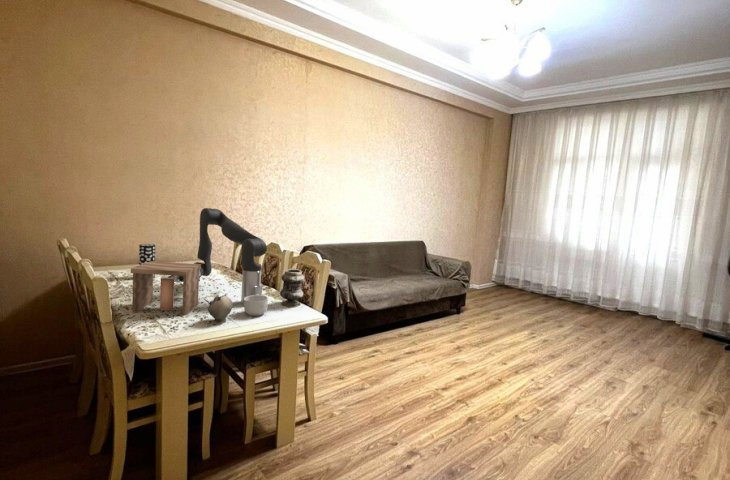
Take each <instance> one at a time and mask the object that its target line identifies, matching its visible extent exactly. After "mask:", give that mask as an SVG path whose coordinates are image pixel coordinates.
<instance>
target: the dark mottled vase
mask: <svg viewBox="0 0 730 480" xmlns="http://www.w3.org/2000/svg"><path fill="white" fill-rule="evenodd" d="M302 273H303V272H302V270H300V269H297V268H296V269H295V268H288V269H285V271H284V273H283V274H282V275H281V278H280V279H281V280H282V281H283V285H282V289H281V290H280V292H279V295H280V297H281V298H283V299H284V301H283V300H282V302H281V305H282V306H284V307H298V306H301V303H300V301H298V300H299V299H301V298H302V297H303V296H304V292H303V290H302V287H303V286H302V283H303V282H304V281H305V276H304V275H303V274H302Z"/></svg>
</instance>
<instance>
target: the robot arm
mask: <svg viewBox="0 0 730 480" xmlns="http://www.w3.org/2000/svg"><path fill="white" fill-rule="evenodd" d="M199 215H200V216H199V243H198V250H197V256H196V257H197V259H198V260H201V261H202V262H199V261H198V262H197V261H196V262H194V263H193V264H201V269H199V282H200V281H201V277H202V276H203V277H208V276H209V275H211V274H212V270H213V269H212V263H211V255H212V250H213V244H212V240H211V238H210V235H209V233H208V227H209V226H211V225H213V226H218V227H220V229H221V230H220V231H221V233H222V235H223V236H224V237H225V238H227V239H228V240H229V241H230V242H234V243H237V244H239V245H241V264H242V276H241V277H242V278H241V280H242V281H241V297H240V298H241V300H240V301H241V302H240V303H241V304H243V305H244V298H245V297H247V296H251V295H256V294H259V295H263V284H262V268H263V267H262V264H261V263H258V262H257V261H255V257H262V256H264V255H265V254H266V253H267V249H268V246H267V244H266V241H264V239H262V238H260V237H258V236H256V235H254V234H252V233H251V232H250V231H248V230H247V229H245V228H243V227H242V226H241V225H240V224H238V223H236V222H235V221H234V220H232V219H231V218H229V217H228V216H227V215H226V214H225V213H224V212H222V210H220V209H217V208H211V207H209V208H207V207H205V208H203V209H202V210H200V214H199ZM167 278H174V283H183V276H172V275H168V277H167Z"/></svg>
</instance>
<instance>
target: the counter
mask: <svg viewBox="0 0 730 480" xmlns="http://www.w3.org/2000/svg"><path fill="white" fill-rule="evenodd" d="M199 269H201V264H194V263H189V262H187V263H185V262H169V261H157V260H155V261H150V262H147V263H144V264H141V265H139V264H138V265H137V266H133V267H131V268H130V273H131V274H132V298H131V299H132V302H131V303H132V306H131V308H132V311H131V313H137V312H139V311H140V310H143V309H144V308H146V307H147V306H149V305H151V304H152V303H153V298H154V297H153V295H154V294H153V292H154V279H153V274H155V276H156V275H159V276H171V275H172V276H183V282H182V308H181V310H182V311H181V312H182V313H181V314H182V316H187V314H189V313H190V312H192V310H193V309H195V308H196V307H197V306H198V305H199V291H200V290H199V287H200V286H199V283H200V281H199Z"/></svg>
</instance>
